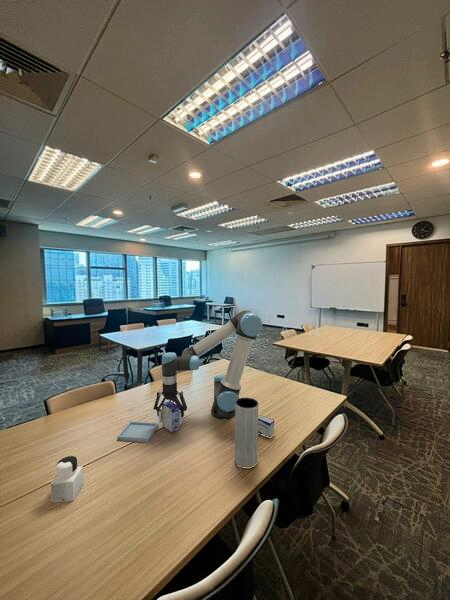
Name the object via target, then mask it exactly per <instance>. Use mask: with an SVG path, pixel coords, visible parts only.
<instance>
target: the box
mask: <svg viewBox="0 0 450 600" xmlns="http://www.w3.org/2000/svg"><path fill="white" fill-rule="evenodd" d="M258 433H260V434H263V435H265V436H268V437H271V436H272V435H273V434H274V435H275V419H272V418H271V417H267V416H265V415H260V416H258ZM260 434H259V435H260Z"/></svg>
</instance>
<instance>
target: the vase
mask: <svg viewBox="0 0 450 600" xmlns="http://www.w3.org/2000/svg"><path fill="white" fill-rule="evenodd" d="M234 417H235V418H234V419H235V421H234V463H235V462H236V463H237V465H239V466H241V467H252V466H254V465H255V464H256V463H257V464H258V447H259V446H258V444H259V434H258V418H259V402H258V400H256V399H255V398H252V397H239V399H238V400H237V401H236V404H235V416H234ZM236 463H235V464H236ZM237 465H236V466H237Z"/></svg>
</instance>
